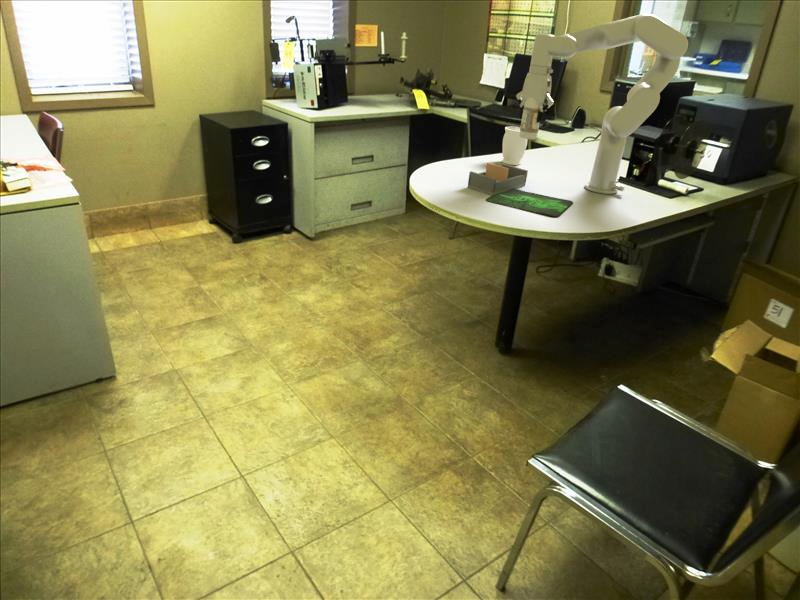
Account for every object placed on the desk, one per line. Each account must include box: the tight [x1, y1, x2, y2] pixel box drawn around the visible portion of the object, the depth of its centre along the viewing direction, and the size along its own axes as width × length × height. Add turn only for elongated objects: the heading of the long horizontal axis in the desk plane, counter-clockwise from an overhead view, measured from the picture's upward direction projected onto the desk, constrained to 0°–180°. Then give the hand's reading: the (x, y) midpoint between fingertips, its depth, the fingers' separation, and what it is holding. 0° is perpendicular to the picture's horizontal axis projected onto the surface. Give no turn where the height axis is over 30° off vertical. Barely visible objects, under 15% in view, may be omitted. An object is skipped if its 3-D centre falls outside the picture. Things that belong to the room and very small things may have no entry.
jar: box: [501, 126, 529, 166], centre depth 250 cm, size 11×10×15 cm
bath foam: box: [519, 97, 541, 140], centre depth 217 cm, size 7×7×20 cm
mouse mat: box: [484, 188, 574, 218], centre depth 206 cm, size 27×22×1 cm
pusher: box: [485, 162, 509, 182], centre depth 215 cm, size 9×5×7 cm, turn 46°
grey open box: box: [467, 163, 528, 196], centre depth 219 cm, size 12×22×6 cm, turn 136°
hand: (530, 119), depth 219 cm, fingers closed on bath foam, 7 cm apart
